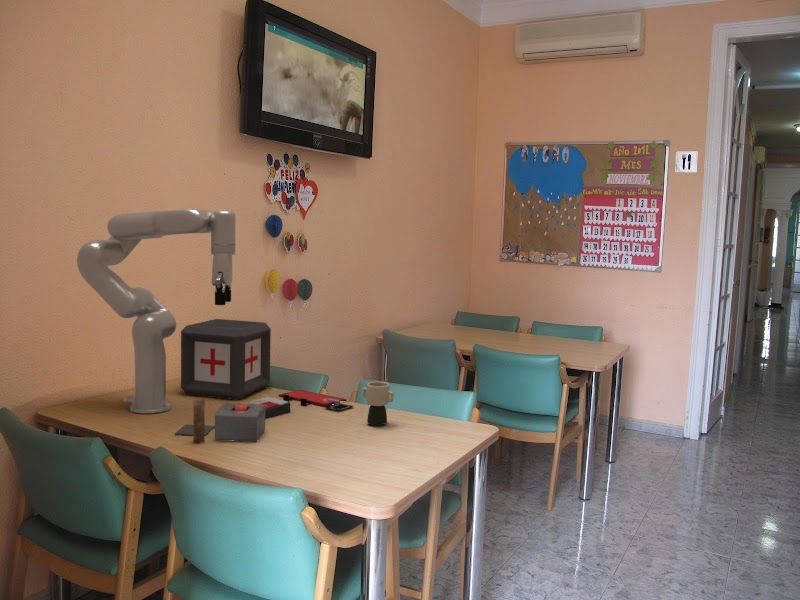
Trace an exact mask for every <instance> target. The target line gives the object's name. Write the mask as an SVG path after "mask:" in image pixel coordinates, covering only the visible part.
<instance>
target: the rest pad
mask: <svg viewBox="0 0 800 600" xmlns="http://www.w3.org/2000/svg"><path fill="white" fill-rule="evenodd" d="M213 428H214V429H215V425H207V424H205V436H206V435H207V434H208V433H209V432H210V431H211V430H212V429H213ZM214 429H213V430H214ZM213 430H212V431H213ZM212 431H211V432H212ZM211 432H210V433H211ZM210 433H209V434H210ZM209 434H208V435H209ZM179 435H181V436H182V437H183V436H185V437H187V436H188V437H193V424H184V425H183V426H181V428H179V429H178V430H177V431H176V432H175V433H174V436H179ZM208 435H207V436H208ZM207 436H206V437H207Z"/></svg>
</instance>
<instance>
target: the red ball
mask: <svg viewBox="0 0 800 600" xmlns="http://www.w3.org/2000/svg"><path fill="white" fill-rule="evenodd" d="M235 411H247V405H246V404H243V403H237V404H236V405H235Z"/></svg>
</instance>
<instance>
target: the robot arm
mask: <svg viewBox="0 0 800 600" xmlns="http://www.w3.org/2000/svg"><path fill="white" fill-rule="evenodd" d="M107 231H108V233H109V236H110V237H109V238H108V239H105V240H104V239H101V240H99V239H98V240H97V239H95V240H91V241H88V242H86V243H84V244H83V245H82V246H81V247H80V248H79V251H78V252H77V257H76V265H77V270H78V271H79V273H80V275H81V277H82V278H83V280H84V281H85V282H86V283H87V284H88V285H89V286H90V287H91V288H92V289H93V290H94V291H95V292H96V293H97V294H98V295H99V297H100V298H101V299H102V300H103V301H104V302H105V303H106V304H107V305H108V306H109V307H110V308H111V309H112V310H113V311H114V312H115V313H116V314H117V315H118V316H119V317H120V318H124V319H133V318H136V319H135V320H134V322H133V323H132V327H131V336H132V337H131V338H132V342H133V349H134V395H123V398H122V401H123V403H125V404H127V403H128V404H129V403H130V404H131V405H130V406H129V411H130V412H132V413H135V414H141V415H142V414H146V415H147V414H157V413H158V414H159V413H164V412H166V411H169V410H170V409H171V407H172V405H171V403H170V402H168V401H166V400H167V398H166V397H167V393H166V392H167V389H166V387H167V382H166V381H167V377H166V374H167V373H166V372H167V364H166V363H167V362H166V361H167V360H166V358H167V357H166V348H165V345H164V340H165V339H167V338H169V337H170V336H172V335H173V334H174V333H175V331H176V330H177V329H176V328H177V321H176V318H175V317H174V316H175V315H173V314H172V313H171V311H170V310H169V309H168V308H167V307H166V306H165V305H164V304H163V303H162V302H161V301H160V300H159V298H157V297H156V296H155V295H154V293H152V292H151V291H149V289H146V288H143V287H131V286H130V285H128V284H127V282H125V281H124V279H122V277H121V276H120V275H118V274H117V273H116V272H115V271H113V270H112V269H111V268H109V266H117V265H119V264H120V263H122V262H123V261H124V260H126V258H127V257H128V256H129V255H130V254H131V252H132V251H134V249H135V248H136V247H137V245H139V243H140V242H141V241H142V240H149V239H151V240H152V239H161V238H162V237H165V236H171V235H174V236H175V235H186V234H208V233H210V255H213V256H212V257H213V258H212V270H211V285H212V286H213V287H214V286H215V289H214V305H215V306H225V305H226V303H230V302H232V286H231V285H232V283H233V255H236V214H235V211H234V212H233V211H231V210H213V211H212V210H206V209H200V208H185V209H173V210H162V211H160V210H156V211H143V212H132V213H130V212H129V213H119V214H116V215H114V216H112V217H111V218H110V219H109V220H108V222H107Z"/></svg>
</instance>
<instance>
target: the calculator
mask: <svg viewBox="0 0 800 600" xmlns="http://www.w3.org/2000/svg"><path fill="white" fill-rule="evenodd" d="M242 404H263V405H266V406H265V420H267V419H271V418H274V417H278V416H282V415H286V414H289V413H291V402H290V401H289V402H288V401H283V399H279V398H275V397H271V396H266V397H262V398H257V399H254V400H250V401H248V402H244V403H242Z"/></svg>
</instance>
